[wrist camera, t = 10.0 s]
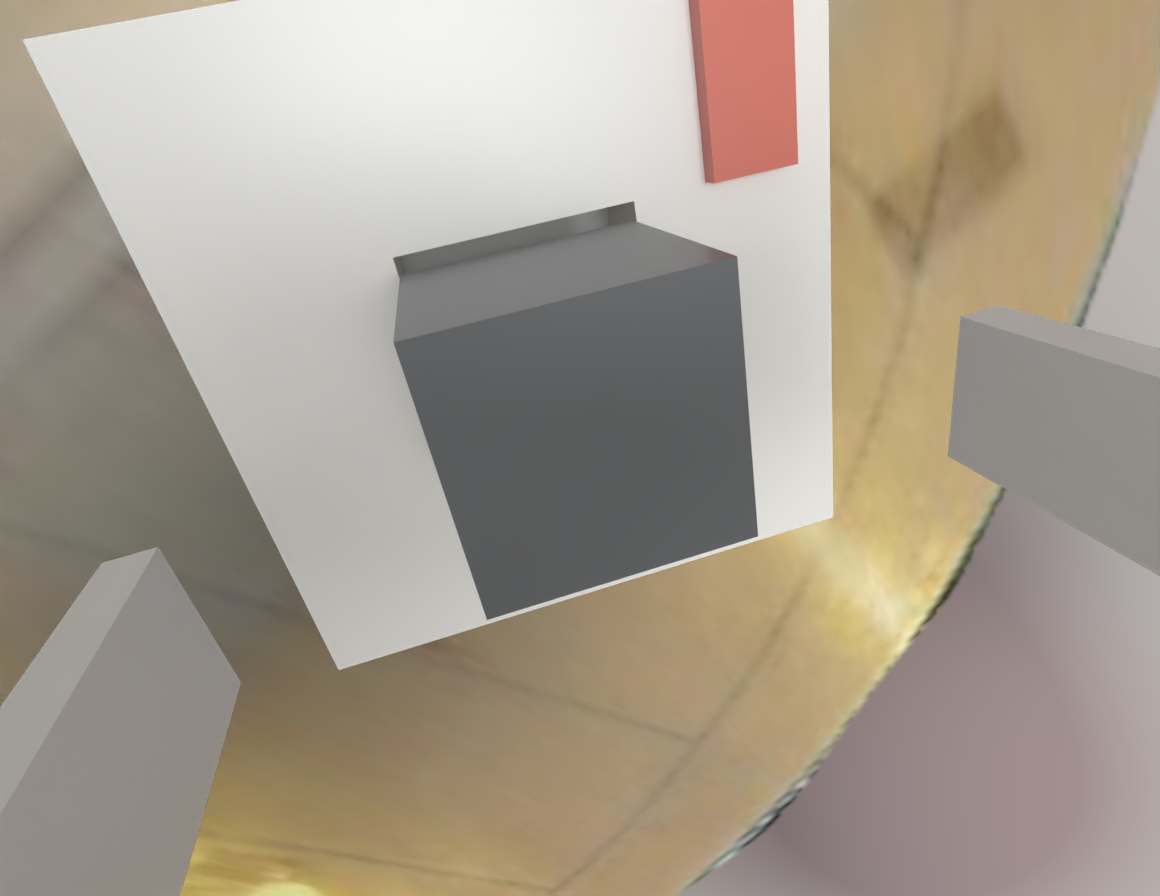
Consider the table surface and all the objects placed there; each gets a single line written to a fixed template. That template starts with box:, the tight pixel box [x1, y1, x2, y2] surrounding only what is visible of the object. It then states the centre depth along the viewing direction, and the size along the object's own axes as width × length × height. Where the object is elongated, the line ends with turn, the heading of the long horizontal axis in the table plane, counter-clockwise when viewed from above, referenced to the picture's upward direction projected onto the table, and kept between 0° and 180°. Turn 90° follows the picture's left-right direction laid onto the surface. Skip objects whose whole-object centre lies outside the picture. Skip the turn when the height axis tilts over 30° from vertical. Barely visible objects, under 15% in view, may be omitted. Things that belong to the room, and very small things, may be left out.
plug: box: [393, 220, 758, 620], centre depth 17 cm, size 6×6×10 cm
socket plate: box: [23, 0, 833, 670], centre depth 20 cm, size 18×18×4 cm
